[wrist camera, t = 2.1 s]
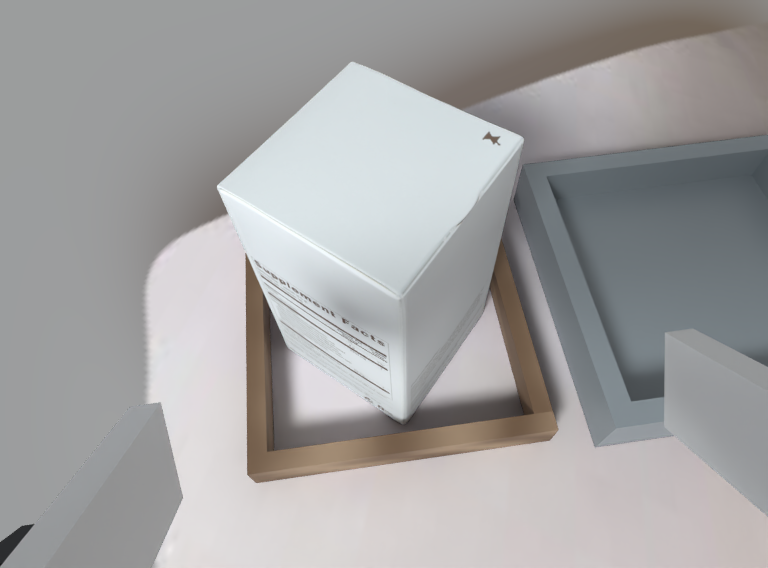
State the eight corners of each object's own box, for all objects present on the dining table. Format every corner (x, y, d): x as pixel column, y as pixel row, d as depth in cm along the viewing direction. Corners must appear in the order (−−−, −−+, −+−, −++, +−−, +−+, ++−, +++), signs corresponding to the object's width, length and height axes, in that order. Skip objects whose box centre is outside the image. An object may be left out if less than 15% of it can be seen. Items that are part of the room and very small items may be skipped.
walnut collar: (483, 211, 39) (487, 192, 37) (549, 440, 30) (558, 430, 29) (252, 240, 38) (245, 222, 36) (256, 482, 30) (247, 474, 28)
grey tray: (752, 169, 40) (780, 133, 37) (900, 402, 31) (953, 379, 28) (513, 199, 39) (523, 164, 36) (595, 447, 30) (616, 428, 27)
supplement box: (369, 245, 38) (352, 51, 25) (486, 312, 35) (534, 132, 22) (281, 347, 34) (206, 181, 21) (403, 431, 31) (403, 299, 18)
